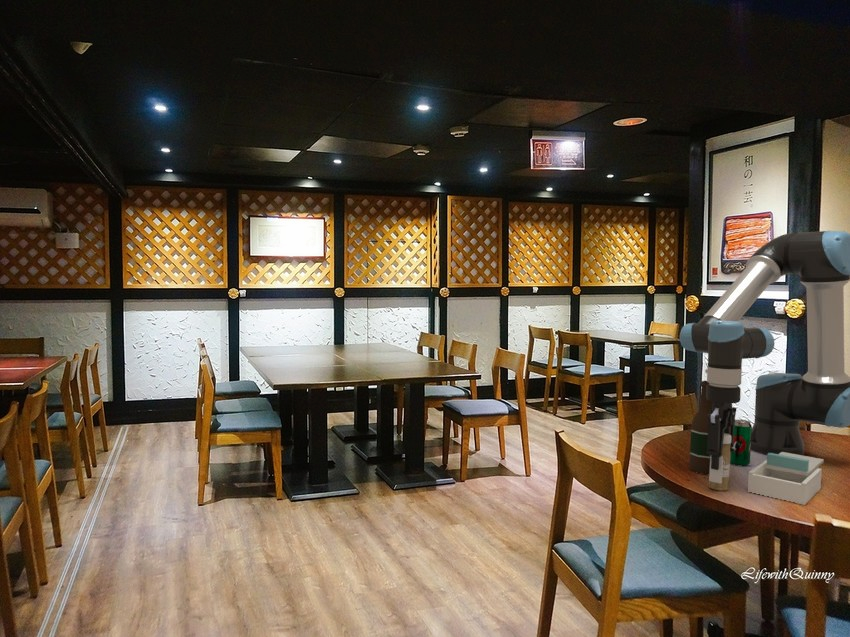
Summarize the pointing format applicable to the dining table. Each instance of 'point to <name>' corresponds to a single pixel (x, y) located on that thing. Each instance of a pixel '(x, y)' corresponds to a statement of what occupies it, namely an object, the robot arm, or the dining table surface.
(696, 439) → the beer bottle
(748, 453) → the soda can
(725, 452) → the sprinkles bottle
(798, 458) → the lid
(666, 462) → the dining table surface
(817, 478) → the mailer box
